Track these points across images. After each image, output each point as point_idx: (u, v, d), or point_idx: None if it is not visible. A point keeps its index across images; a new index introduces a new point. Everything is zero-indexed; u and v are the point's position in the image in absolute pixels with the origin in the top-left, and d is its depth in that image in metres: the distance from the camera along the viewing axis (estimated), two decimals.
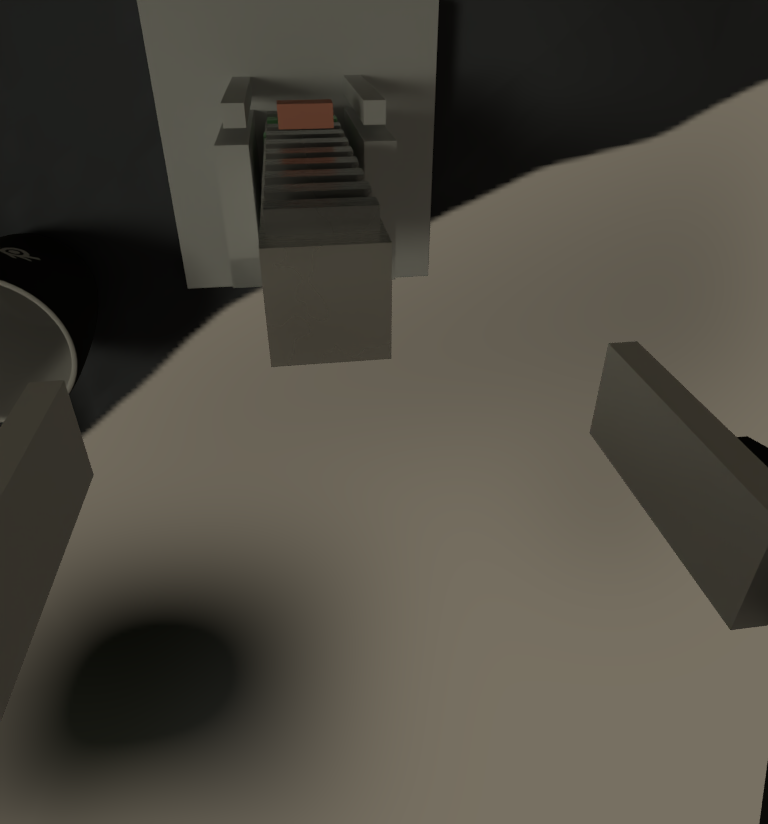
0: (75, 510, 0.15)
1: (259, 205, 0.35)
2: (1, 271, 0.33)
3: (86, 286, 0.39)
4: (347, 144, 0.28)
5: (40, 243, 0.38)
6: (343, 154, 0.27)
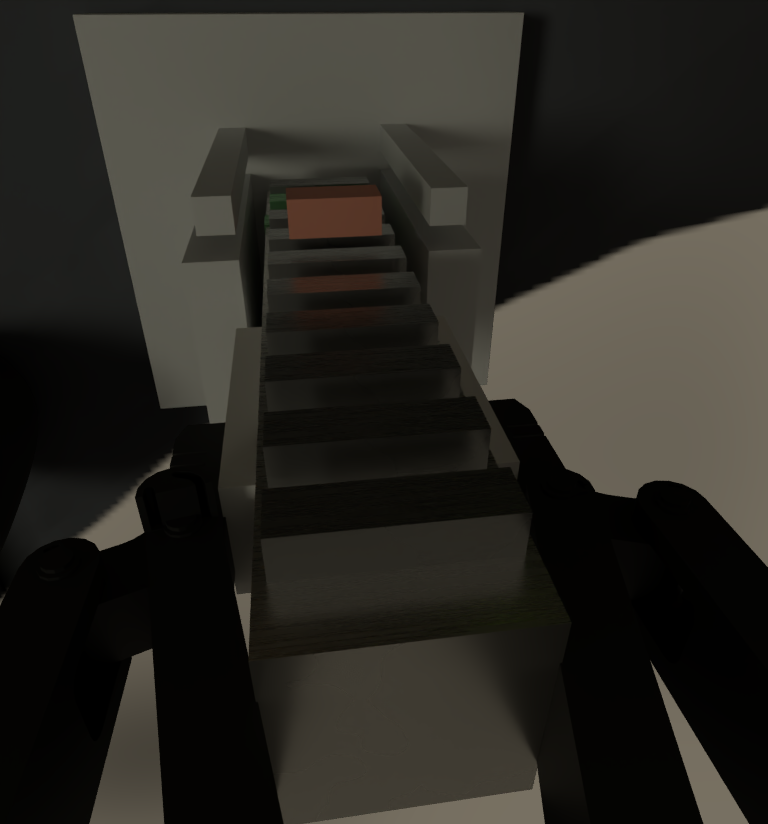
0: None
1: (258, 321, 0.24)
2: None
3: (14, 418, 0.28)
4: (404, 262, 0.17)
5: None
6: (403, 292, 0.15)
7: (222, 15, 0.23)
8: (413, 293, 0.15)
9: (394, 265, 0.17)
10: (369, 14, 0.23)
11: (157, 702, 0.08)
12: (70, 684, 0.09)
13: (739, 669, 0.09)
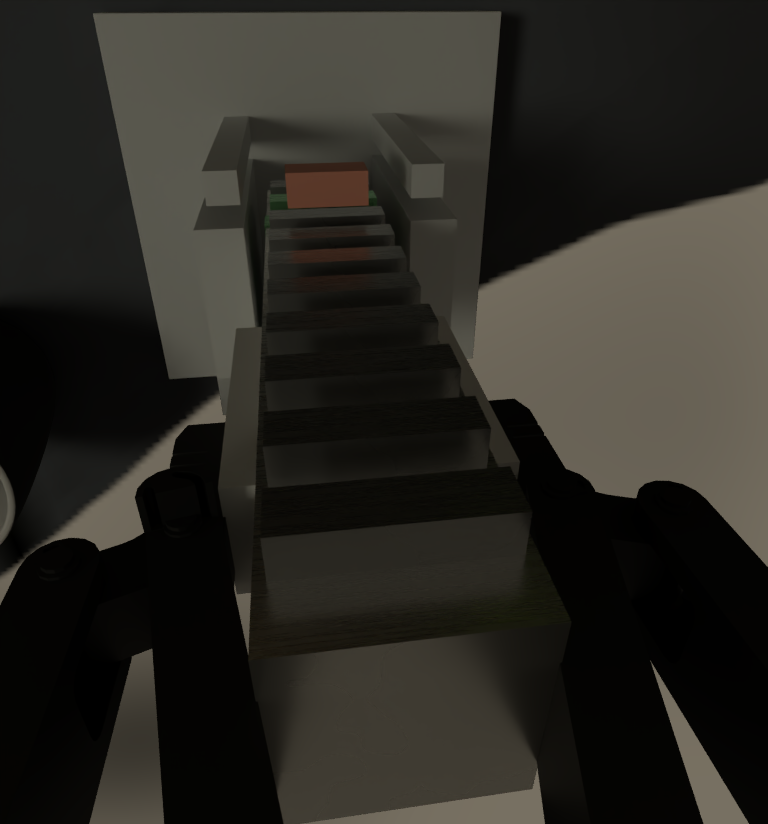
0: None
1: (260, 291, 0.26)
2: None
3: (35, 385, 0.30)
4: (404, 262, 0.17)
5: None
6: (403, 292, 0.15)
7: (227, 14, 0.25)
8: (413, 293, 0.15)
9: (394, 265, 0.17)
10: (360, 13, 0.26)
11: (157, 702, 0.08)
12: (70, 684, 0.09)
13: (740, 669, 0.09)
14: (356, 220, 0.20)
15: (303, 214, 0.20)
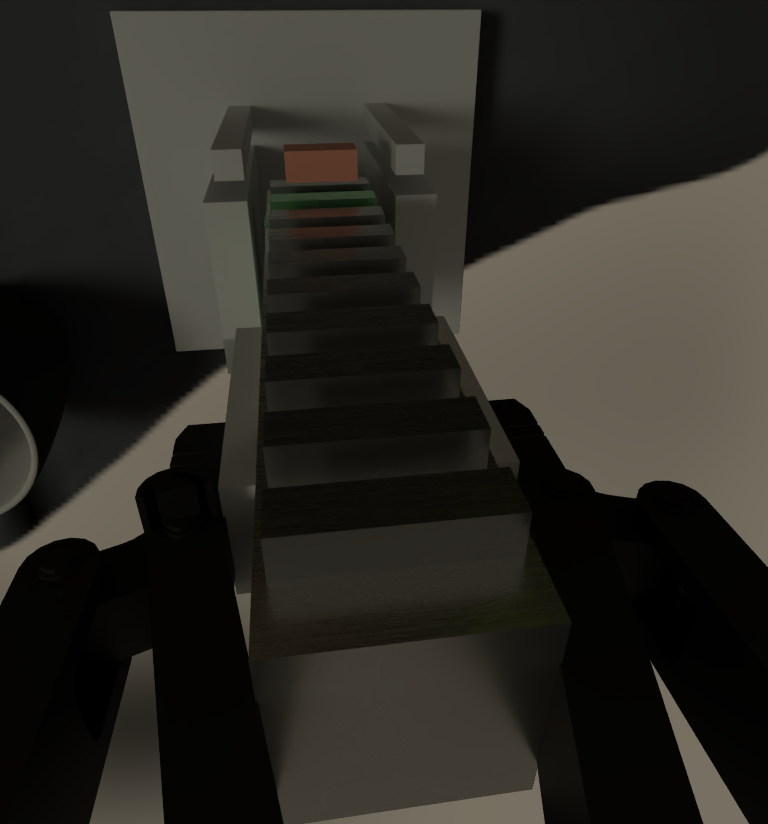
0: None
1: (261, 264, 0.28)
2: None
3: (54, 354, 0.33)
4: (404, 262, 0.17)
5: None
6: (403, 292, 0.15)
7: (232, 12, 0.28)
8: (413, 293, 0.15)
9: (394, 265, 0.17)
10: (353, 11, 0.28)
11: (157, 702, 0.08)
12: (70, 684, 0.09)
13: (739, 669, 0.09)
14: (356, 220, 0.20)
15: (303, 214, 0.20)
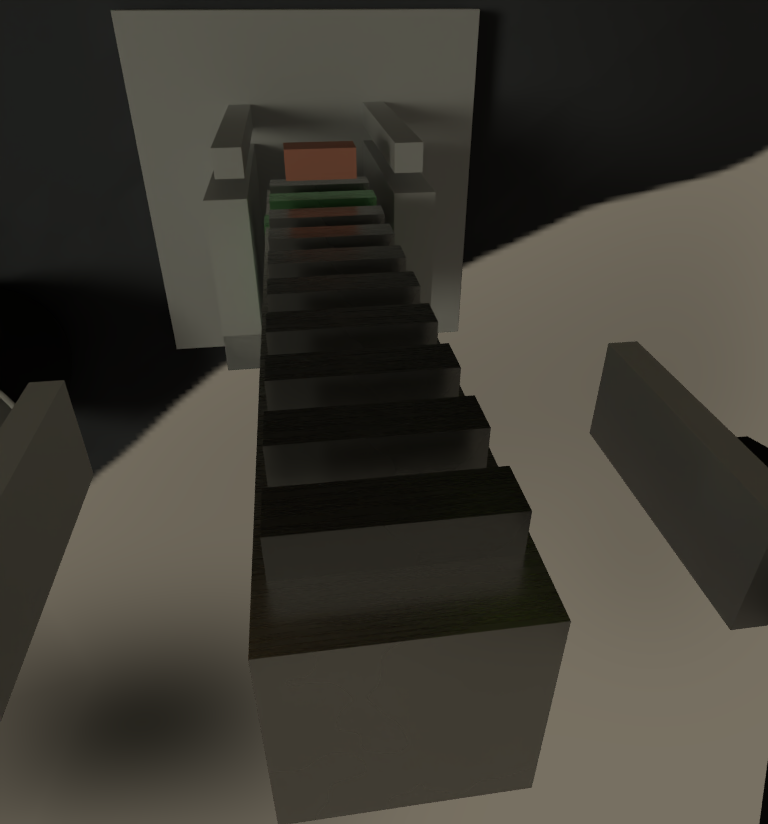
0: (75, 510, 0.15)
1: (261, 262, 0.29)
2: None
3: (55, 352, 0.33)
4: (404, 261, 0.17)
5: None
6: (403, 291, 0.15)
7: (232, 11, 0.28)
8: (413, 293, 0.15)
9: (394, 265, 0.17)
10: (352, 10, 0.29)
11: None
12: None
13: None
14: (356, 220, 0.20)
15: (303, 213, 0.20)
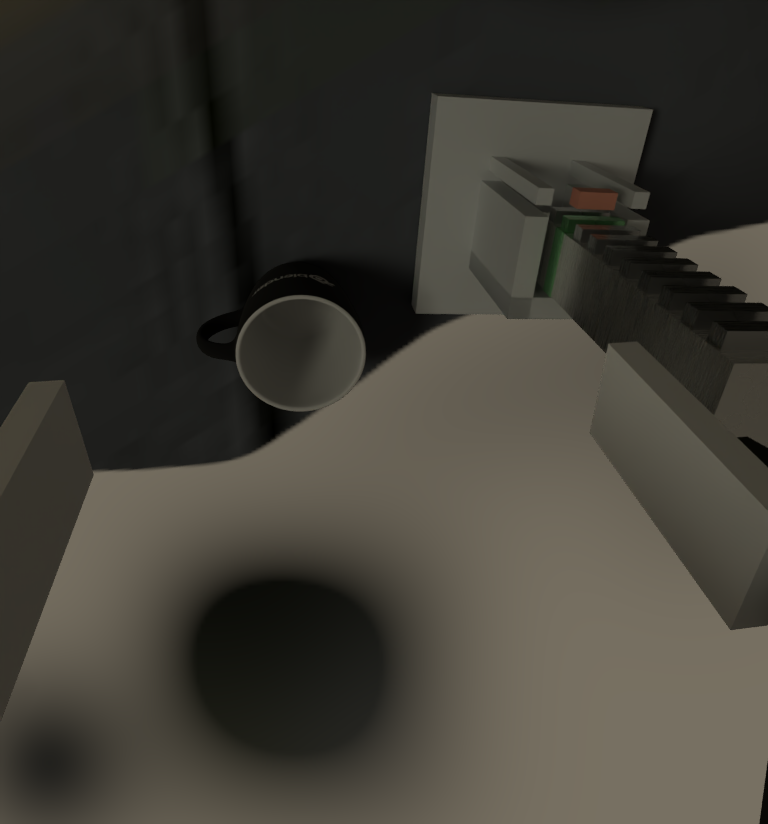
0: (75, 510, 0.15)
1: None
2: (326, 294, 0.43)
3: None
4: (675, 254, 0.34)
5: (321, 271, 0.48)
6: (690, 267, 0.32)
7: (508, 101, 0.45)
8: (693, 268, 0.33)
9: (670, 255, 0.34)
10: (577, 105, 0.46)
11: None
12: None
13: None
14: (625, 232, 0.37)
15: (597, 227, 0.37)
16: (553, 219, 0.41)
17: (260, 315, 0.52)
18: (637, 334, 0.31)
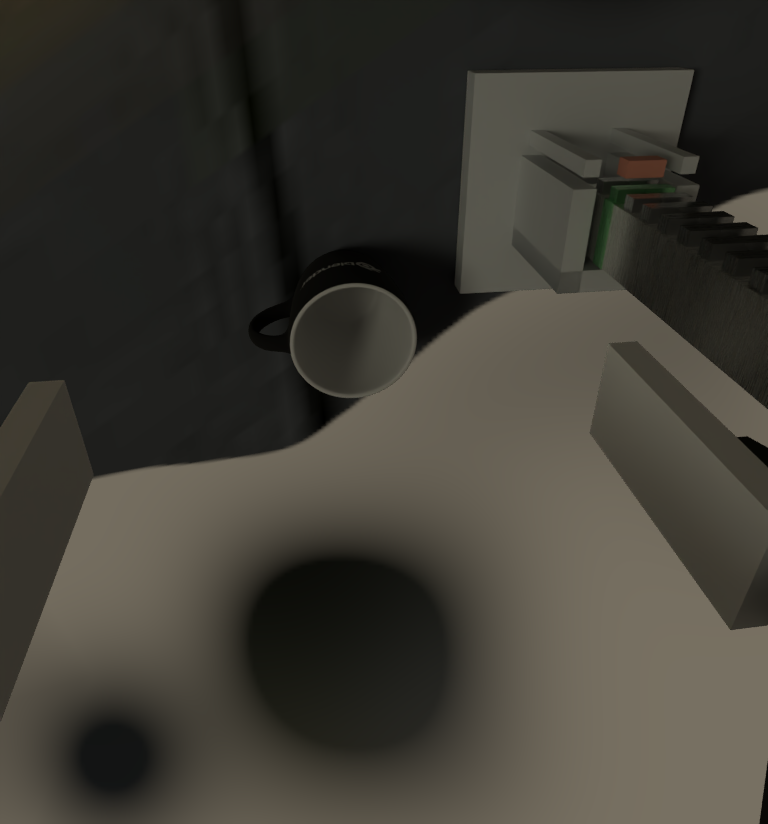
0: (75, 510, 0.15)
1: None
2: (376, 281, 0.44)
3: None
4: (732, 218, 0.34)
5: (366, 258, 0.49)
6: (749, 230, 0.32)
7: (545, 72, 0.45)
8: (753, 231, 0.32)
9: (727, 220, 0.34)
10: (617, 71, 0.45)
11: None
12: None
13: None
14: (677, 199, 0.37)
15: (648, 196, 0.37)
16: (600, 190, 0.41)
17: None
18: (699, 303, 0.31)
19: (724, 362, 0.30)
